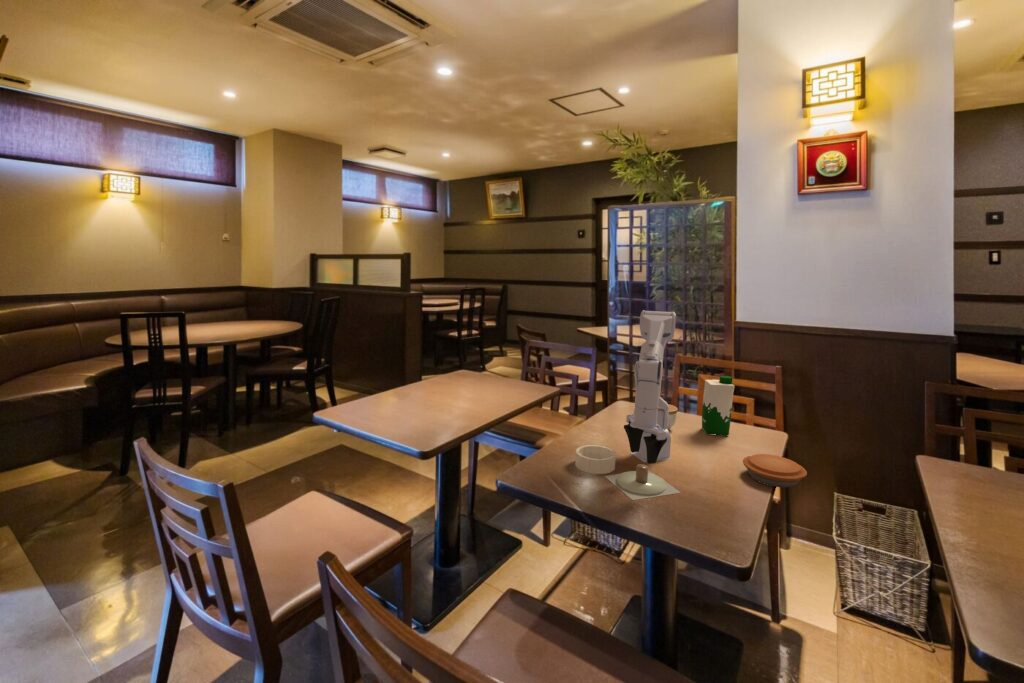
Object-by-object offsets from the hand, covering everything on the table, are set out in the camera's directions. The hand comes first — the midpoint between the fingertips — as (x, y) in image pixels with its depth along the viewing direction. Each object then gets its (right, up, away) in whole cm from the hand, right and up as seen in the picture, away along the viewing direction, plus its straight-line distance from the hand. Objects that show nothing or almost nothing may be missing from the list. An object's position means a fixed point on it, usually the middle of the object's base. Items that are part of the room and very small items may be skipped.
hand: (643, 457), depth 124 cm
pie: (+38, -8, +8) cm, 39 cm away
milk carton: (+37, -2, +44) cm, 58 cm away
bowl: (-10, -6, +13) cm, 17 cm away
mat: (0, -8, +1) cm, 8 cm away
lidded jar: (+19, -1, +47) cm, 51 cm away
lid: (0, -7, +1) cm, 7 cm away
